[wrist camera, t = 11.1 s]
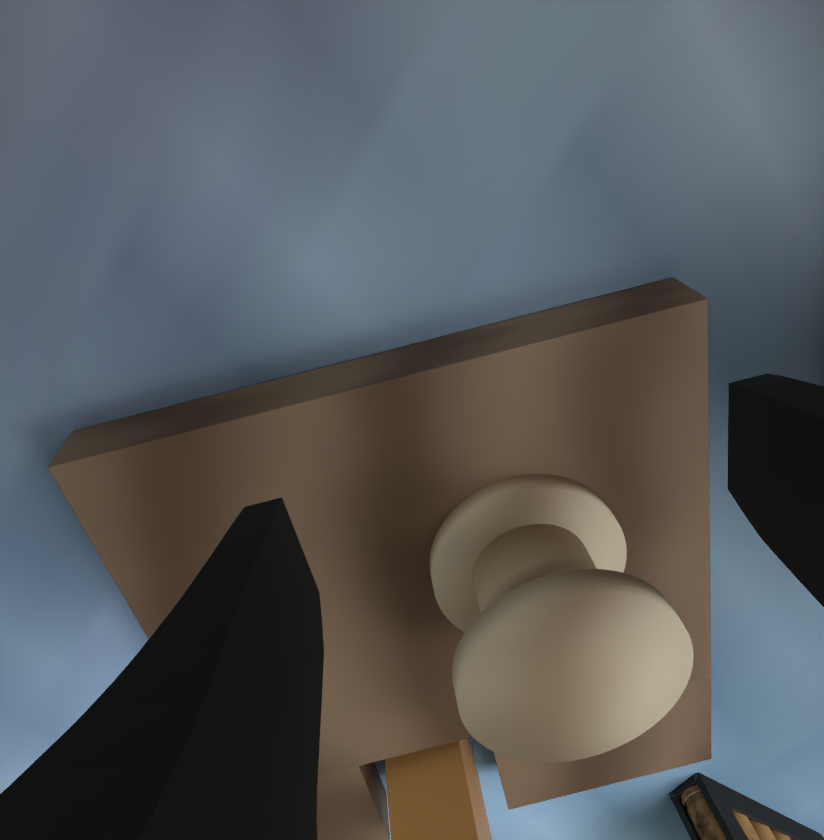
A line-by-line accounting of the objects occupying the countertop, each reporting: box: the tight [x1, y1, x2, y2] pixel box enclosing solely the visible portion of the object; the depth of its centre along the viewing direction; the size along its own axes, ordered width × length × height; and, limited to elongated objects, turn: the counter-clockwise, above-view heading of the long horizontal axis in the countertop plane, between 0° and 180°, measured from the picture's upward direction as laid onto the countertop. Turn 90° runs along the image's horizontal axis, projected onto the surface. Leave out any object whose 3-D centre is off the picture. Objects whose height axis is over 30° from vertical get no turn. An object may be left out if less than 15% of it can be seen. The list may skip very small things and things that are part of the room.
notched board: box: [48, 278, 711, 840], centre depth 23 cm, size 18×20×2 cm
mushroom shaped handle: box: [429, 474, 694, 763], centre depth 19 cm, size 6×6×5 cm
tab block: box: [385, 739, 492, 840], centre depth 25 cm, size 3×3×6 cm
